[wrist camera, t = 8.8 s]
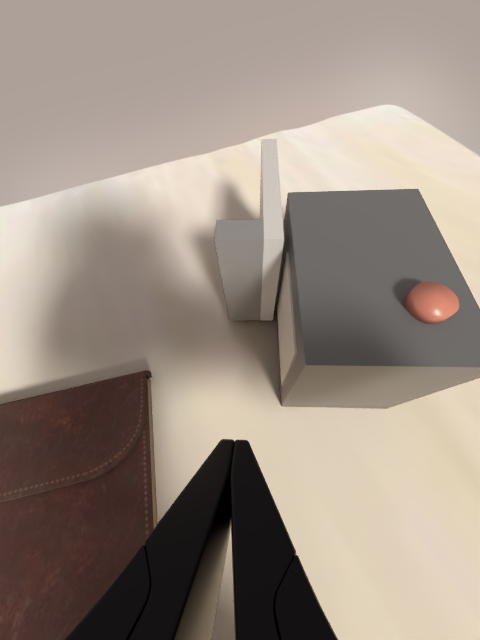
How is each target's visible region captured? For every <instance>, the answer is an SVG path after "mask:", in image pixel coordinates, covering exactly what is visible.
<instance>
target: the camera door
mask: <svg viewBox="0 0 480 640" xmlns="http://www.w3.org/2000/svg"><path fill="white" fill-rule="evenodd" d="M214 241H215V247H216V252H217V257H218V263H219V268H220V273H221V279H222V284H223V289H224V295H225V300H226V305H227V311H228V316H229V320H273V315H274V308H275V301H276V294H277V286H278V279H279V272H280V265H281V258H282V251H283V244H284V230H283V217H282V205H281V192H280V179H279V167H278V154H277V141H276V139H262V143H261V185H260V219H239V220H216V229H215V238H214Z"/></svg>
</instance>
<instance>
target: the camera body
mask: <svg viewBox="0 0 480 640" xmlns="http://www.w3.org/2000/svg"><path fill="white" fill-rule="evenodd" d="M283 230H284V244H283V251H282V258H281V265H280V272H279V279H278V286H277V294H276V307H277V327H278V347H279V368H280V388H281V406H295V407H339V408H383V409H387V408H390V407H393V406H396V405H399V404H402V403H405V402H408V401H411V400H414V399H417V398H420V397H423V396H426V395H429V394H432V393H435V392H438V391H441V390H444V389H447V388H450V387H453V386H456V385H459V384H462V383H465V382H468V381H471V380H474V379H477V378H480V309H479V307H478V305H477V303H476V301H475V299H474V297H473V295H472V293H471V291H470V289H469V287H468V285H467V283H466V281H465V279H464V277H463V275H462V273H461V272H460V270H459V268H458V266H457V264H456V262H455V260H454V258H453V256H452V254H451V252H450V250H449V248H448V246H447V244H446V242H445V240H444V238H443V236H442V235H441V233H440V231H439V229H438V227H437V225H436V223H435V221H434V219H433V217H432V215H431V213H430V211H429V209H428V207H427V205H426V203H425V201H424V199H423V198H422V196H421V194H420V192H419V190H418V189H398V190H363V191H328V192H293V193H288V197H287V204H286V212H285V220H284V227H283Z"/></svg>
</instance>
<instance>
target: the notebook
mask: <svg viewBox="0 0 480 640" xmlns="http://www.w3.org/2000/svg"><path fill="white" fill-rule="evenodd" d="M149 377H152V376H151V372H150V371H148V370H146V371H142V372H138V373H133V374H129V375H125V376H121V377H116V378H112V379H108V380H103V381H99V382H95V383H90V384H86V385H82V386H78V387H73V388H69V389H65V390H60V391H56V392H52V393H47V394H43V395H39V396H35V397H30V398H26V399H22V400H17V401H13V402H9V403H5V404H0V640H64V639H65V638H66V637H67V636H68V635H69V634H70V632H71V631H72V630H73V629H74V628H75V627H76V626H77V624H78V623H79V622H80V621H81V620H82V619H83V618H84V616H85V615H86V614H87V613H88V612H89V611H90V609H91V608H92V607H93V606H94V605H95V604H96V602H97V601H98V600H99V599H100V598H101V596H102V595H103V594H104V593H105V592H106V591H107V589H108V588H109V587H110V586H111V584H112V583H113V582H114V581H115V579H116V578H117V577H118V576H119V574H120V573H121V572H122V570H123V569H124V568H125V567H126V565H127V564H128V563H129V562H130V560H131V559H132V557H133V556H134V555H135V553H136V552H137V551H138V549H139V548H140V547H141V545H145V540H146V539H147V538H148V536H149V535H150V534H151V532H152V531H153V530H154V528H155V527H156V526H157V506H156V485H155V464H154V443H153V422H152V402H151V381H150V380H148V379H147V378H149Z"/></svg>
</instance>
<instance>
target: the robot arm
mask: <svg viewBox="0 0 480 640" xmlns="http://www.w3.org/2000/svg"><path fill="white" fill-rule="evenodd" d="M230 527H231V533H232V564H233V594H234V624H235V640H338V639H337V637H336V635H335V633H334V631H333V629H332V627H331V625H330V623H329V622H328V620H327V618H326V616H325V614H324V612H323V610H322V608H321V606H320V604H319V602H318V599H317V597H316V595H315V593H314V591H313V589H312V586H311V584H310V582H309V580H308V578H307V576H306V573H305V571H304V569H303V566H302V564H301V562H300V559H299V557H298V556H297V555H296V551H295V548H294V546H293V544H292V541H291V539H290V537H289V534H288V532H287V530H286V527H285V525H284V523H283V520H282V518H281V516H280V513H279V511H278V509H277V506H276V504H275V502H274V499H273V497H272V495H271V493H270V490H269V488H268V486H267V483H266V481H265V479H264V476H263V474H262V472H261V469H260V467H259V465H258V462H257V460H256V458H255V455H254V453H253V451H252V448H251V446H250V444H249V442H248V441H247V440H235V442H234V440H232V439H222V440H221V441H220V442H219V443H218V445H217V446H216V447H215V449H214V450H213V451H212V453H211V454H210V455H209V456H208V458H207V459H206V460H205V462H204V463H203V464H202V466H201V467H200V468H199V470H198V471H197V472H196V474H195V475H194V476H193V478H192V479H191V480H190V482H189V483H188V484H187V486H186V487H185V488H184V490H183V491H182V492H181V494H180V495H179V496H178V498H177V499H176V500H175V502H174V503H173V504H172V506H171V507H170V508H169V510H168V511H167V512H166V514H165V515H164V516H163V518H162V519H161V520H160V522H159V523H158V524H157V526H156V527H155V528H154V530H153V531H152V532H151V534H150V535H149V536H148V538H147V539H146V540H145V545H141V547H140V548H139V549H138V551H137V552H136V553H135V555H134V556H133V557H132V559H131V560H130V562H129V563H128V564H127V565H126V567H125V568H124V569H123V570H122V572H121V573H120V574H119V576H118V577H117V578H116V579H115V581H114V582H113V583H112V584H111V586H110V587H109V588H108V589H107V591H106V592H105V593H104V594H103V595H102V596H101V598H100V599H99V600H98V601H97V602H96V604H95V605H94V606H93V607H92V608H91V609H90V611H89V612H88V613H87V614H86V615H85V616H84V618H83V619H82V620H81V621H80V622H79V623H78V624H77V626H76V627H75V628H74V629H73V630H72V631H71V632H70V634H69V635H68V636H67V637H66V638H65V639H64V640H212V634H213V628H214V622H215V616H216V610H217V605H218V599H219V593H220V587H221V581H222V575H223V569H224V563H225V558H226V552H227V546H228V540H229V534H230Z"/></svg>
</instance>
